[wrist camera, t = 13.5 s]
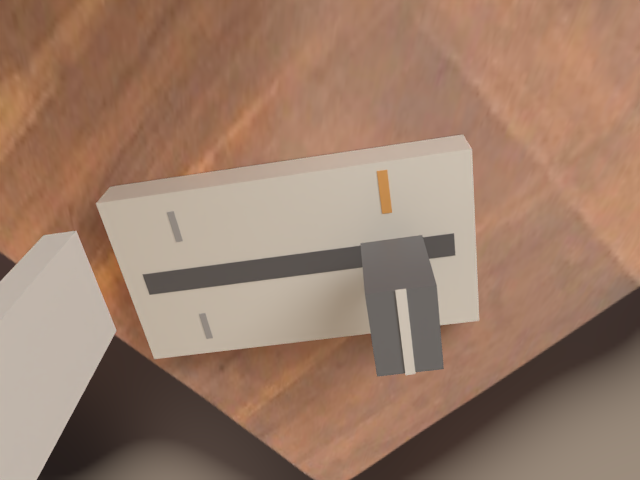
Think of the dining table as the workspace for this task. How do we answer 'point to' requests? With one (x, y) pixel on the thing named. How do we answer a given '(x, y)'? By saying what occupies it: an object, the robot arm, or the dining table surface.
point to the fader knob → (402, 306)
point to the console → (289, 244)
